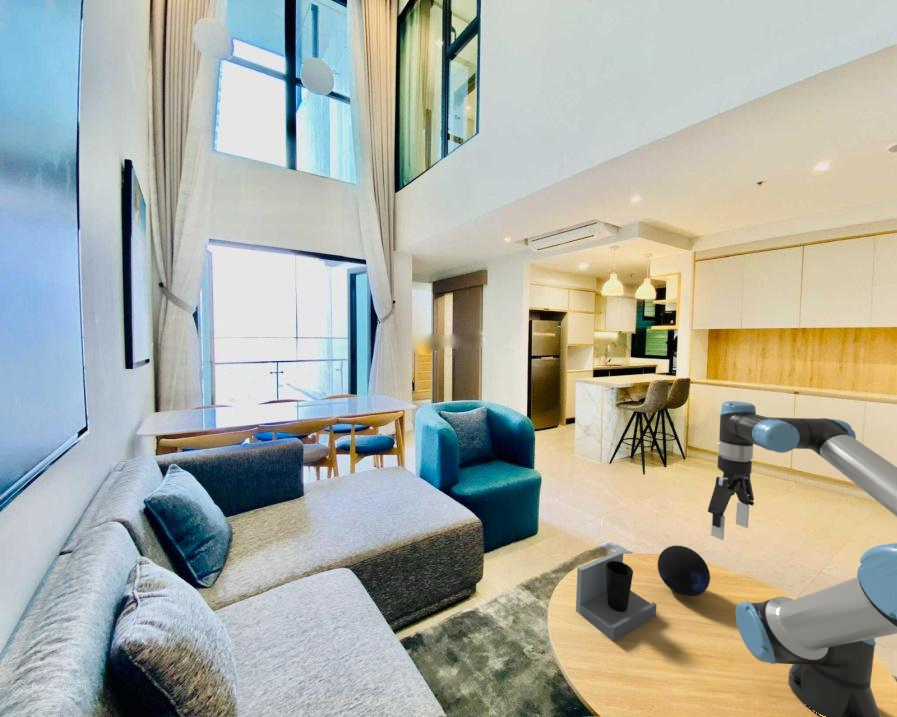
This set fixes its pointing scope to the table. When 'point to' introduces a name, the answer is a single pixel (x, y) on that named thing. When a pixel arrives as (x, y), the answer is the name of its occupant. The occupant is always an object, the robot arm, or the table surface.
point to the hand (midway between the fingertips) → (729, 531)
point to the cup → (618, 585)
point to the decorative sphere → (683, 571)
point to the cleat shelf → (596, 605)
